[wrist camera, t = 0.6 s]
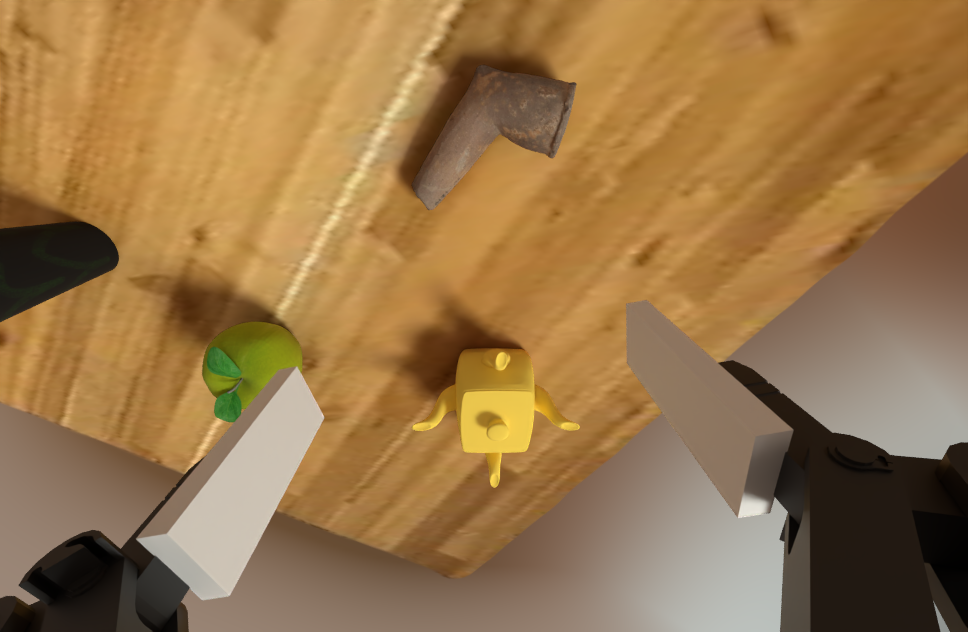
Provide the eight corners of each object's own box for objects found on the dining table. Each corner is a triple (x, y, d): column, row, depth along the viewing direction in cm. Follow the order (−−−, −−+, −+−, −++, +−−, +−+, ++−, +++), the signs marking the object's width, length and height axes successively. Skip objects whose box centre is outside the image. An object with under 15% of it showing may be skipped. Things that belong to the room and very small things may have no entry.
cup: (86, 199, 35) (-85, 222, 24) (145, 265, 38) (18, 312, 27) (29, 228, 36) (-158, 263, 25) (92, 291, 39) (-50, 345, 29)
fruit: (241, 365, 44) (183, 421, 35) (237, 301, 40) (171, 345, 31) (315, 378, 46) (278, 435, 37) (319, 317, 42) (277, 364, 33)
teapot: (490, 436, 51) (494, 495, 43) (417, 382, 47) (406, 436, 38) (567, 378, 47) (589, 430, 39) (496, 313, 42) (502, 355, 34)
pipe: (389, 187, 31) (476, 257, 33) (506, 0, 26) (604, 95, 27) (410, 187, 37) (482, 246, 39) (509, 35, 32) (589, 111, 33)
